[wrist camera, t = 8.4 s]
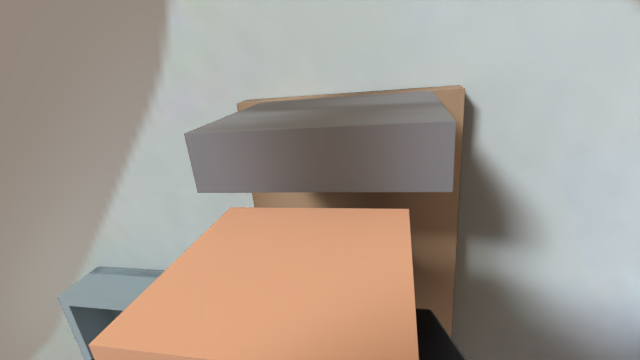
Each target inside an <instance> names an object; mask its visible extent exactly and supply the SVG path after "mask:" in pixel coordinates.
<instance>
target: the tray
mask: <svg viewBox="0 0 640 360" xmlns="http://www.w3.org/2000/svg"><path fill="white" fill-rule="evenodd" d="M163 272H164V271H162V270H144V269H127V268H109V267H97V268H96V269H94V270H93V271H92V272H90V273H89V274H88V275H86V276H85V277H83V278H82V279H81V280H79V281H78V282H77V283H75V284H74V285H73V286H71V287H70V288H69V289H67V290H66V291H64V292H63V293H62V294H60V295H59V296H58V300H59V302H60V305H61V307H62V309H63V311H64V314H65V316H66V318H67V321H68V323H69V325H70V327H71V330H72V332H73V334H74V337H75V339H76V341H77V343H78V346H79V348H80V350H81V353H82V355H83V357H84V359H85V360H91V359H93V358H94V357H93V355H92V352H91V350H90V347H89V344H90V343H91V342H92V341H93V340H94V339H95V338H96V337H97V336H98V335H99V334H100V333H101V332H102V331H103V330H104V329H105V328H106V327H107V326H108V325H109V324H110V323H111V322H112V321H114V320H115V319H116V318H117V317H118V316H119V315H120V314H121V313H122V312H123V311H124V310H125V309H126V308H127V307H128V306H129V305H130V304H131V303H132V302H133V301H134V300H135V299H136V298H137V297H138V296H139V295H140V294H142V293H143V292H144V291H145V290H146V289H147V288H148V287H149V286H150V285H151V284H152V283H153V282H154V281H155V280H156V279H157V278H158V277H159V276H160V275H161V274H162V273H163Z"/></svg>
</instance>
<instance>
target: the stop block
mask: <svg viewBox="0 0 640 360" xmlns="http://www.w3.org/2000/svg"><path fill="white" fill-rule="evenodd" d="M89 347H90V350H91V352H92V355H93V357H94V359H95V360H419V354H418V339H417V324H416V309H415V294H414V278H413V263H412V248H411V233H410V218H409V209H368V208H245V207H231V208H230V209H229V210H228V211H227V212H225V213H224V214H223V215H222V216H221V217H220V218H219V219H218V220H217V221H216V222H215V223H214V224H213V225H212V226H211V227H210V228H209V229H208V230H207V231H206V232H205V233H204V234H203V235H202V236H201V237H200V238H199V239H197V240H196V241H195V242H194V243H193V244H192V245H191V246H190V247H189V248H188V249H187V250H186V251H185V252H184V253H183V254H182V255H181V256H180V257H179V258H178V259H177V260H176V261H175V262H174V263H173V264H172V265H171V266H169V267H168V268H167V269H166V270H165V271H164V272H163V273H162V274H161V275H160V276H159V277H158V278H157V279H156V280H155V281H154V282H153V283H152V284H151V285H150V286H149V287H148V288H147V289H146V290H145V291H144V292H143V293H142V294H140V295H139V296H138V297H137V298H136V299H135V300H134V301H133V302H132V303H131V304H130V305H129V306H128V307H127V308H126V309H125V310H124V311H123V312H122V313H121V314H120V315H119V316H118V317H117V318H116V319H115V320H114V321H112V322H111V323H110V324H109V325H108V326H107V327H106V328H105V329H104V330H103V331H102V332H101V333H100V334H99V335H98V336H97V337H96V338H95V339H94V340H93V341H92V342H91V343H90V344H89Z"/></svg>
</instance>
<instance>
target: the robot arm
mask: <svg viewBox="0 0 640 360" xmlns="http://www.w3.org/2000/svg"><path fill="white" fill-rule="evenodd" d="M415 309H416V324H417V339H418V354H419V360H466V358H465V357H464V355H463V354H462V353H461V351H460V350H459V348H458V347H457V345H456V344H455V343H454V341H453V340H452V338H451V337H450V335H449V334H448V333H447V331H446V330H445V328H444V327H443V325H442V324H441V323H440V321H439V320H438V318H437V317H436V315H435V314H434V313H433V311H432V310H430V309H421V308H415ZM91 360H95V359H94V358H93V359H91Z"/></svg>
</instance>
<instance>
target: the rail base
mask: <svg viewBox="0 0 640 360" xmlns="http://www.w3.org/2000/svg"><path fill="white" fill-rule="evenodd" d="M464 99H465V88H463V87H462V86H460V85H456V86H442V87H427V88H413V89H398V90H384V91H369V92H355V93H340V94H326V95H312V96H297V97H283V98H268V99H254V100H246V101H243V102H240V103H237V109H238V112H236V113H234V114H231V115H229V116H226V117H224V118H222V119H219V120H217V121H214V122H212V123H209V124H207V125H205V126H202V127H200V128H197V129H195V130H192V131H190V132H188V133H185V134H184V135H185V140H186V144H187V148H188V153H189V157H190V161H191V166H192V170H193V174H194V178H195V183H196V187H197V191H198V193H252V195H253V201H254V207H255V208H368V209H409V218H410V233H411V248H412V263H413V278H414V294H415V308H421V309H430V310H432V311H433V313H434V314H435V315H436V317H437V318H438V320H439V321H440V323H441V324H442V325H443V327H444V328H445V330H446V331H447V333H448V334H449V335H450V337H452V319H453V300H454V282H455V264H456V245H457V227H458V209H459V190H460V172H461V154H462V135H463V117H464Z"/></svg>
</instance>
